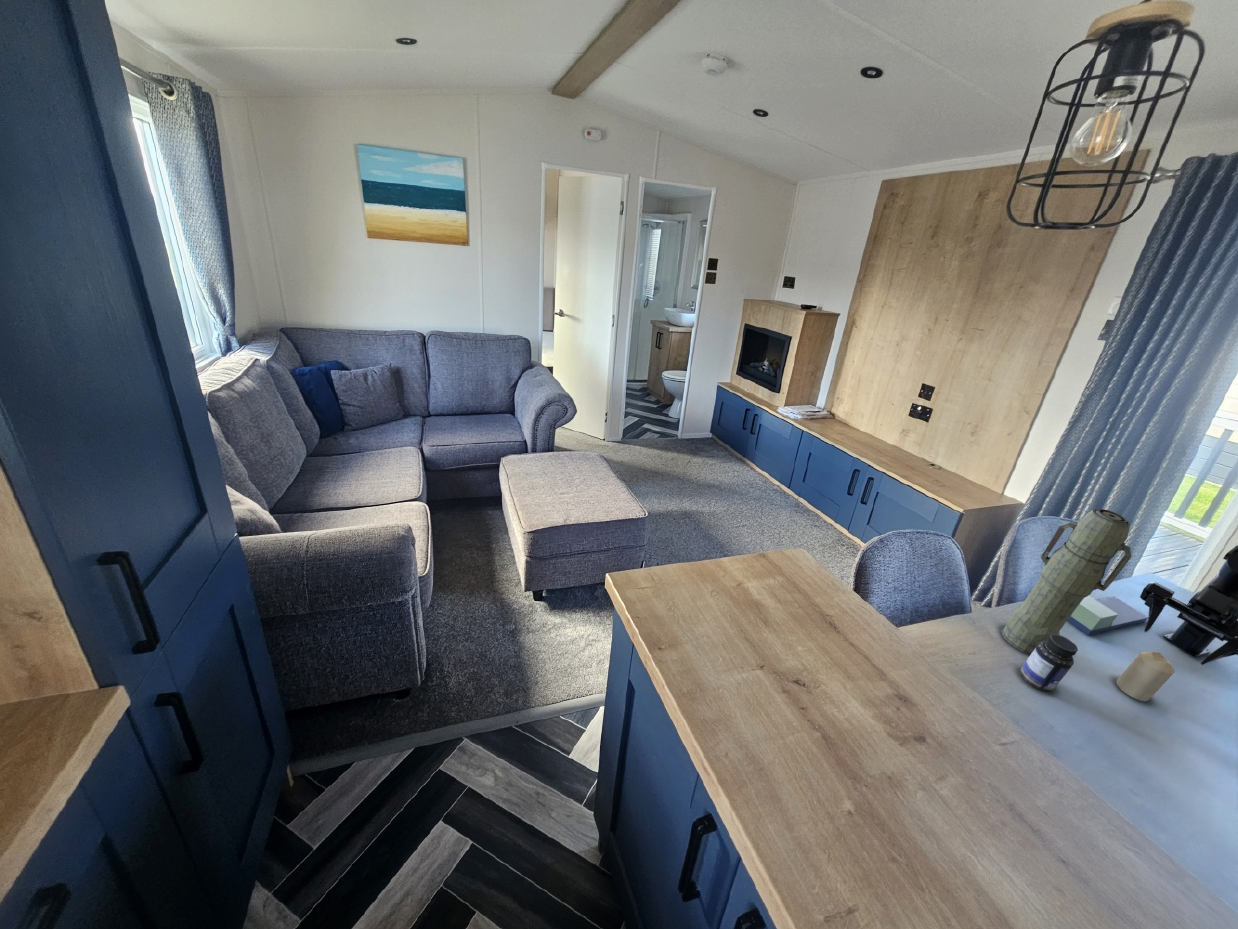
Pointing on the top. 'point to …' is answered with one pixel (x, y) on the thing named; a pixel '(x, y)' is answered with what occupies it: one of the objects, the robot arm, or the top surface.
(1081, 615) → the stand
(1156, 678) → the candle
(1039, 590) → the thermos
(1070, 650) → the pill bottle
